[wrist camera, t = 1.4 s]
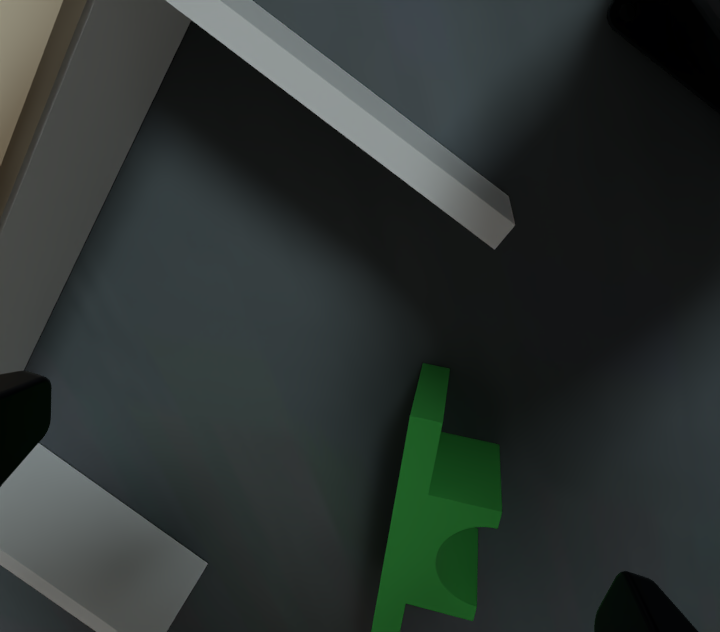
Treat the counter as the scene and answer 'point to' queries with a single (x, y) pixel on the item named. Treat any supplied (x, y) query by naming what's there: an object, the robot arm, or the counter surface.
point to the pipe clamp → (437, 513)
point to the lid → (29, 73)
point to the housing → (71, 228)
